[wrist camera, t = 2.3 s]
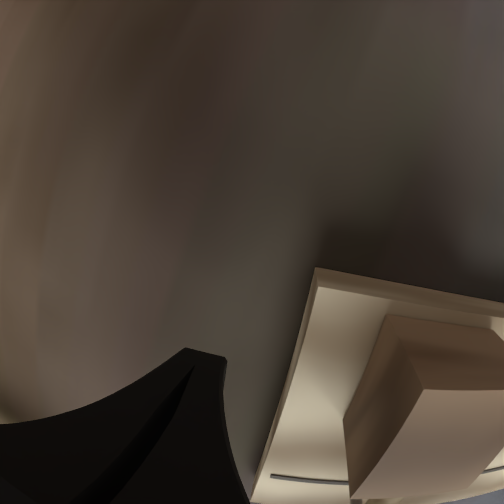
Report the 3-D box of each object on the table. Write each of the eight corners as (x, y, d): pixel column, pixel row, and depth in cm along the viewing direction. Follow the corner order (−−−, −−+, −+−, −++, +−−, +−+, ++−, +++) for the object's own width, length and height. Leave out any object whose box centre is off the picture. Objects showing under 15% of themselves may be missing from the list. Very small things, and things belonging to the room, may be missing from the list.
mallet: (392, 488, 12) (400, 544, 8) (306, 486, 13) (302, 548, 9) (492, 329, 9) (544, 387, 5) (386, 314, 10) (423, 388, 6)
